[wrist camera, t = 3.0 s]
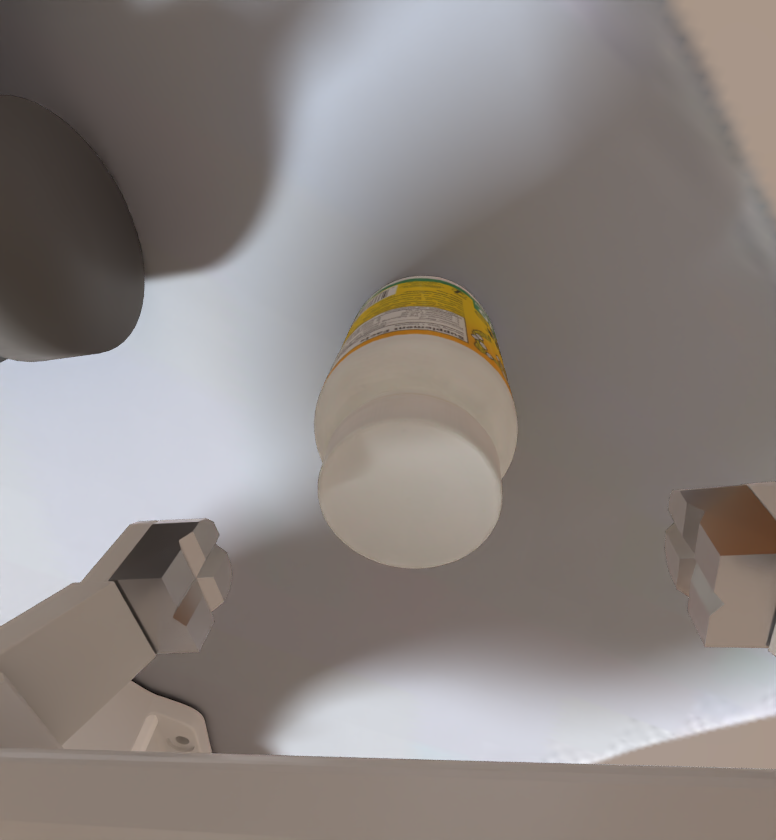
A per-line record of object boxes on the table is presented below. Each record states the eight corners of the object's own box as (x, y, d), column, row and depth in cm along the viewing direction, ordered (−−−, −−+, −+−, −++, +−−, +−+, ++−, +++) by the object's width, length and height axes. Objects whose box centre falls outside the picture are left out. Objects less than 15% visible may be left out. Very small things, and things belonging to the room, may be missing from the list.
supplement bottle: (353, 268, 18) (277, 373, 10) (505, 277, 18) (561, 395, 10) (351, 403, 21) (290, 579, 12) (484, 414, 21) (515, 603, 12)
